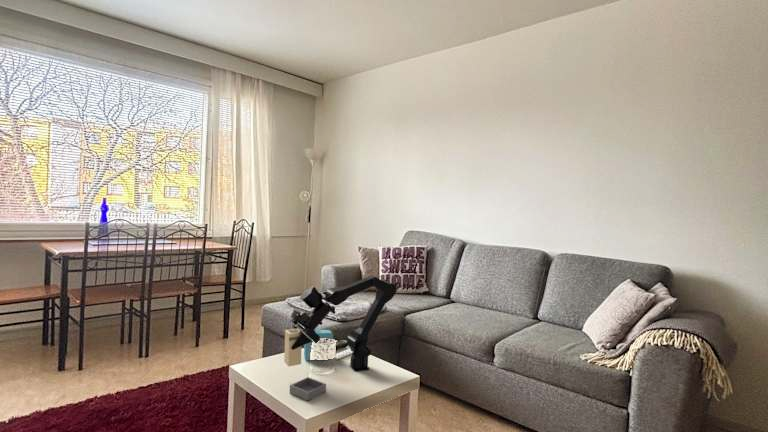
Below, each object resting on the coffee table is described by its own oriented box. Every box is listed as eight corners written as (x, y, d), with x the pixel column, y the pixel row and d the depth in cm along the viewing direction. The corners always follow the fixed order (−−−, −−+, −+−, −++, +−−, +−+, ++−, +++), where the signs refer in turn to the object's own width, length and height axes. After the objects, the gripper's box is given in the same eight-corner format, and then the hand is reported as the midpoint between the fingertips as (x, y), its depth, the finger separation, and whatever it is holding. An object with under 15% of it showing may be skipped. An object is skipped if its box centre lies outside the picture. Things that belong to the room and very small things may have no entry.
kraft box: (296, 359, 169) (297, 328, 168) (301, 364, 164) (302, 332, 164) (284, 361, 166) (285, 329, 166) (288, 366, 162) (289, 333, 161)
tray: (307, 384, 162) (308, 377, 162) (325, 392, 157) (326, 384, 157) (289, 393, 154) (289, 385, 154) (308, 401, 149) (308, 392, 149)
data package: (330, 355, 193) (332, 329, 192) (332, 359, 188) (333, 332, 188) (303, 357, 189) (304, 330, 189) (304, 361, 185) (305, 333, 185)
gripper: (296, 297, 174) (268, 327, 169) (313, 308, 158) (283, 342, 153) (313, 313, 179) (287, 343, 174) (331, 326, 163) (303, 359, 158)
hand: (289, 346), depth 164 cm, fingers closed on kraft box, 5 cm apart
